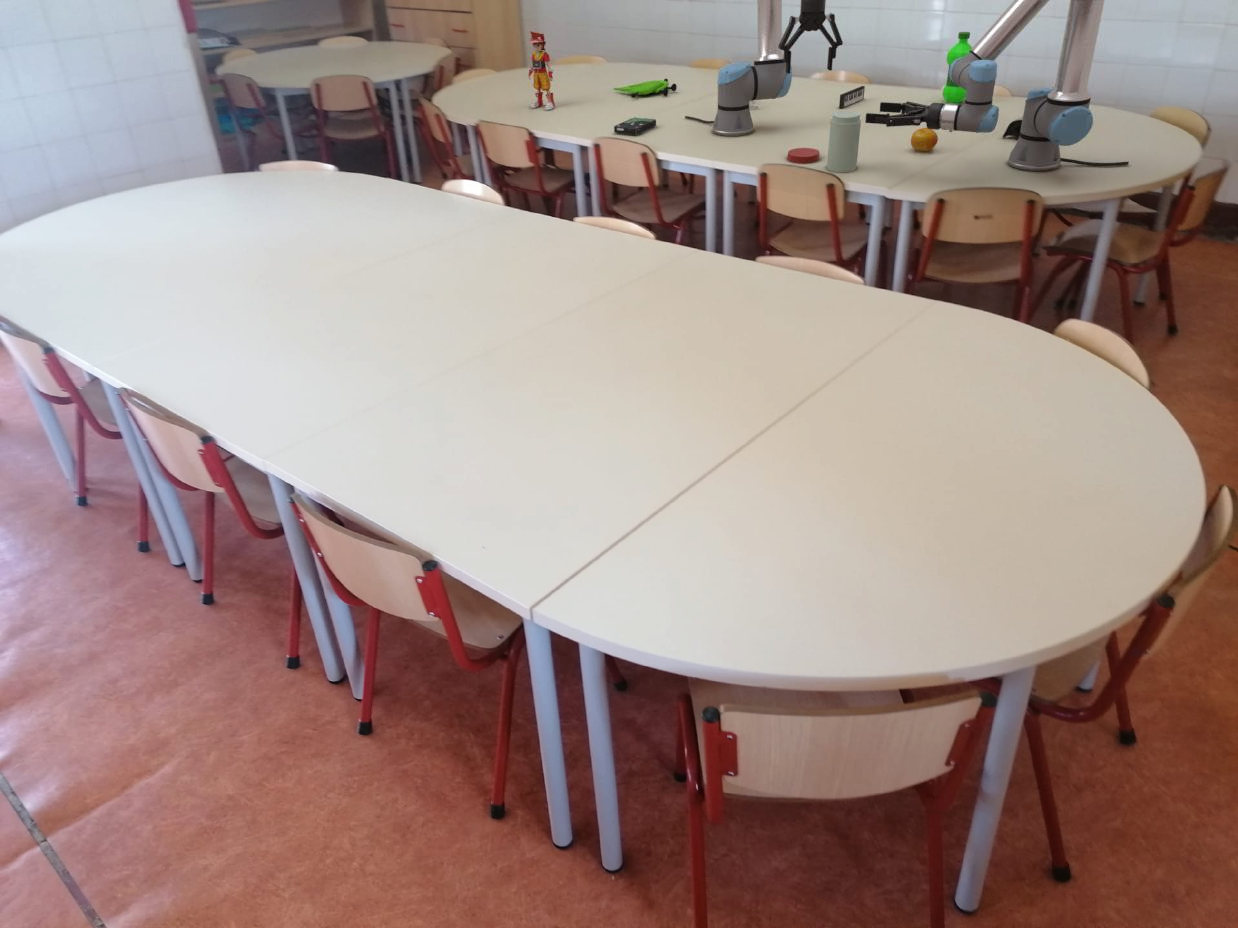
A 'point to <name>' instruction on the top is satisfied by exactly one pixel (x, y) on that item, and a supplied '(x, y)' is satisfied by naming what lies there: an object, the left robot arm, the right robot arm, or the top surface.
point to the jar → (843, 141)
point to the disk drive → (635, 126)
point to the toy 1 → (541, 71)
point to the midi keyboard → (851, 96)
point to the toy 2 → (648, 88)
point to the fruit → (924, 139)
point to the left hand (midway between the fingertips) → (808, 71)
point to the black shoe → (1014, 128)
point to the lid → (803, 155)
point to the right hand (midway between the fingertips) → (873, 112)
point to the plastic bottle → (951, 90)
